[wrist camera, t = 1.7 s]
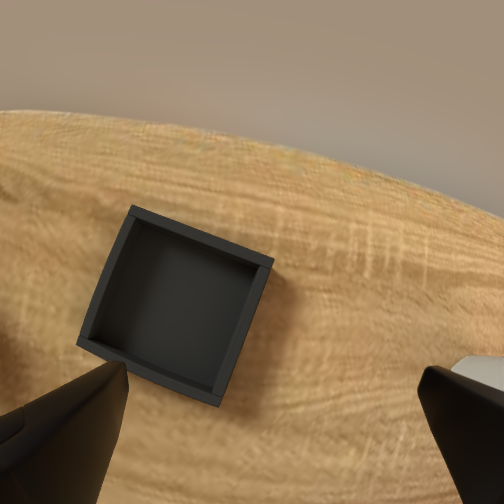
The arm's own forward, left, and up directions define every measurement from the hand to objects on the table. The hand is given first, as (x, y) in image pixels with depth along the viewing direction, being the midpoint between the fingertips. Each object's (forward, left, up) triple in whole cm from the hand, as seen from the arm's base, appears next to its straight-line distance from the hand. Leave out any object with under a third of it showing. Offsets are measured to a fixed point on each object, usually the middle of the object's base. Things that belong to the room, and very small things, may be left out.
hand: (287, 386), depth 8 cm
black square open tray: (+1, +6, -16) cm, 17 cm away
